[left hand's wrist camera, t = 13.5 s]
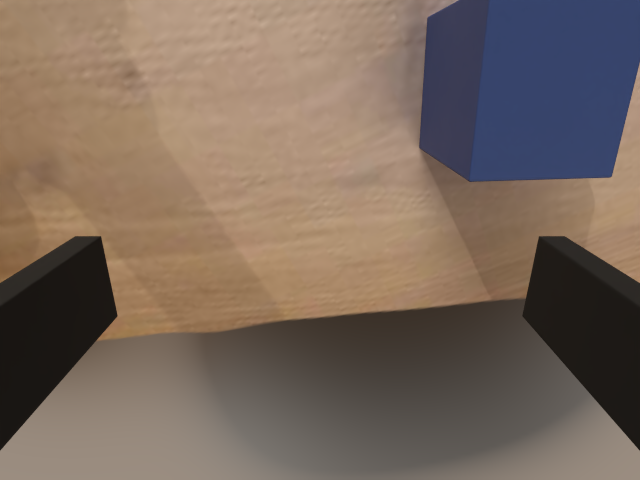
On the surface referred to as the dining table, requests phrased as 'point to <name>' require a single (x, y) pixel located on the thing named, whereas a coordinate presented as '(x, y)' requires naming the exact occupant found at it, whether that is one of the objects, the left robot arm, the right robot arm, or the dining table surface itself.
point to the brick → (529, 87)
